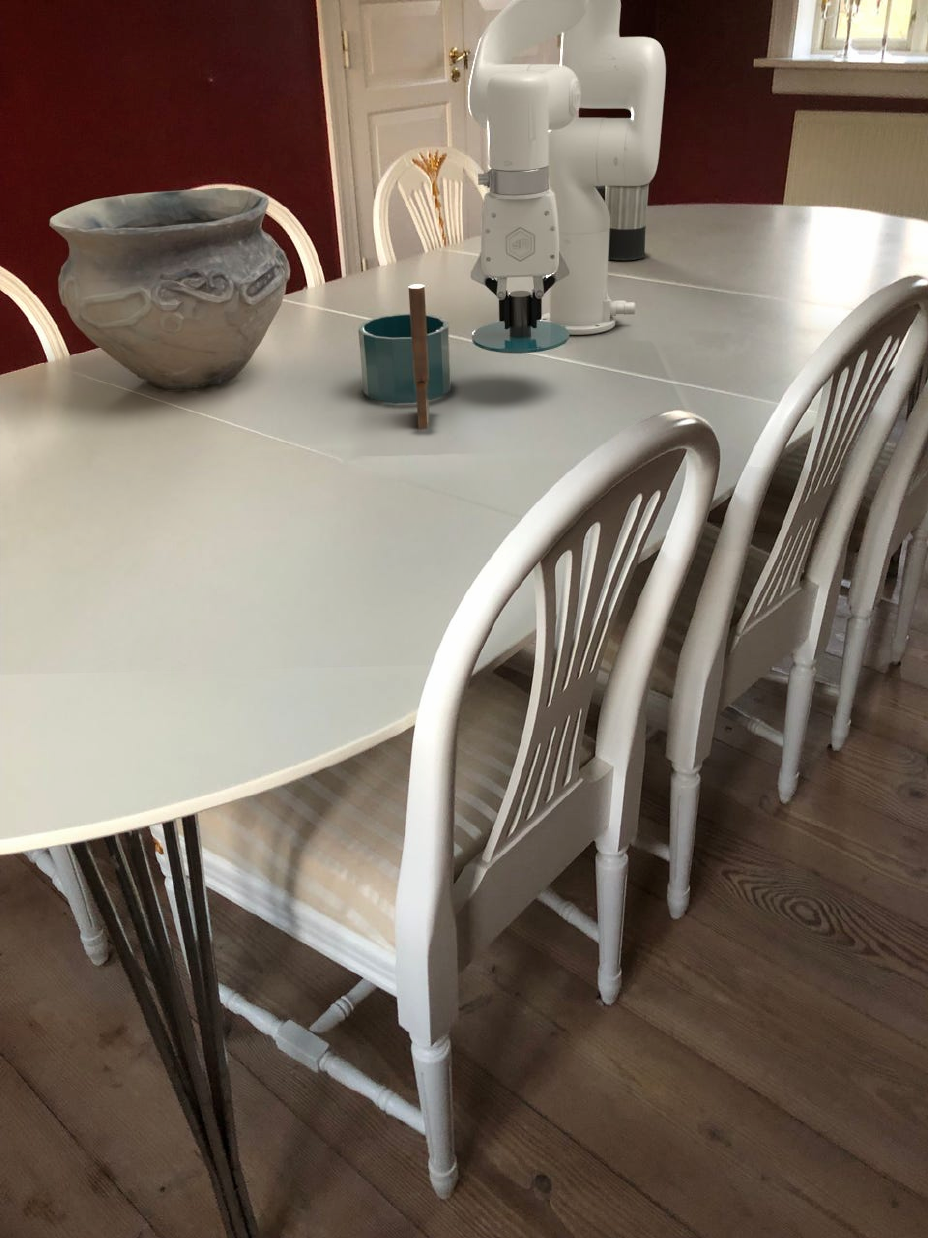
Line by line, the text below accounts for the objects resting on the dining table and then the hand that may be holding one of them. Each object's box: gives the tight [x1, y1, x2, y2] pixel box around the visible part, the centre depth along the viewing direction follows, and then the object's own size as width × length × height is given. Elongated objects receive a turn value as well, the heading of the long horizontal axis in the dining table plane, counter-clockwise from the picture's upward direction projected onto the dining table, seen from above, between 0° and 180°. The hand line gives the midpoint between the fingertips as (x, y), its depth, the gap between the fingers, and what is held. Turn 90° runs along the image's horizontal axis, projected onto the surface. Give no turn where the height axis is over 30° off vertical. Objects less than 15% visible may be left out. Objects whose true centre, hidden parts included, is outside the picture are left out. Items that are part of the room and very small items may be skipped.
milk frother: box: [595, 181, 651, 262], centre depth 211 cm, size 14×16×15 cm
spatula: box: [408, 283, 430, 430], centre depth 133 cm, size 2×6×18 cm, turn 179°
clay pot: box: [49, 187, 291, 392], centre depth 151 cm, size 33×32×25 cm
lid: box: [471, 290, 570, 355], centre depth 141 cm, size 13×13×7 cm
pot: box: [358, 313, 452, 404], centre depth 146 cm, size 12×12×10 cm
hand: (520, 324), depth 141 cm, fingers closed on lid, 3 cm apart
